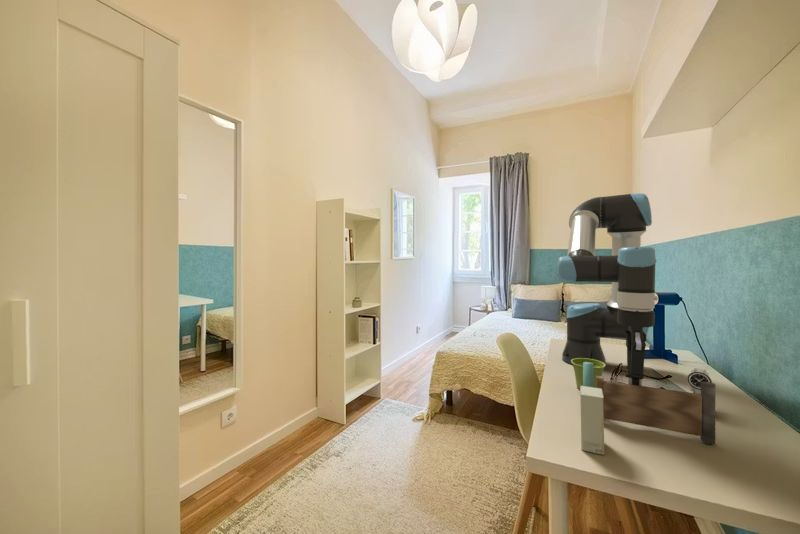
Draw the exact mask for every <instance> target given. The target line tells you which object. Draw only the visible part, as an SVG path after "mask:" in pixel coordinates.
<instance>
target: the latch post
mask: <svg viewBox="0 0 800 534" xmlns="http://www.w3.org/2000/svg"><path fill="white" fill-rule="evenodd" d="M583 386H587V387H593V363H590V362H583Z"/></svg>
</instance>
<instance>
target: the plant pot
mask: <svg viewBox="0 0 800 534" xmlns="http://www.w3.org/2000/svg"><path fill="white" fill-rule="evenodd" d="M583 362H590V363H593V387H594V388H596V376H602V377H603V372H604V370H605V368H606V366H607V365H605V363H603V362H601V361H598V360H594V359H587V358H575V359H572V360H571V363H572V364H573V365H572V364H571V365H572V368H573V370H574V371H573V372H574V376H575V384H576V388H577V389H578V390H580V386H583Z"/></svg>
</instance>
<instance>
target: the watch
mask: <svg viewBox="0 0 800 534" xmlns="http://www.w3.org/2000/svg"><path fill="white" fill-rule="evenodd" d="M686 381H687V384H688V386H689V388H690V391H691V392H692V393H697V394H700V395H701V382H710V383H713V384H715V382H713V381H712V379H711V377H710V375H709V372H707V369H703V368H697V367H695V368H694V369H692V370H691V371H690V373H688V375H687V376H686Z"/></svg>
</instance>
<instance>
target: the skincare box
mask: <svg viewBox="0 0 800 534" xmlns="http://www.w3.org/2000/svg"><path fill="white" fill-rule="evenodd" d="M579 393H580V394H579V398H580V400H579V401H580V405H579V406H580V432H581V433H580V436H581V437H580V439H581V441H580V444H581V450H582V451H586V452H589V453H594V454H597V455H598V454H599V455H601V456H605V426H604V425H605V424H604V421H605V420H604V413H603V392H602V389H601V388H594V387H587V386H580V389H579Z"/></svg>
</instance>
